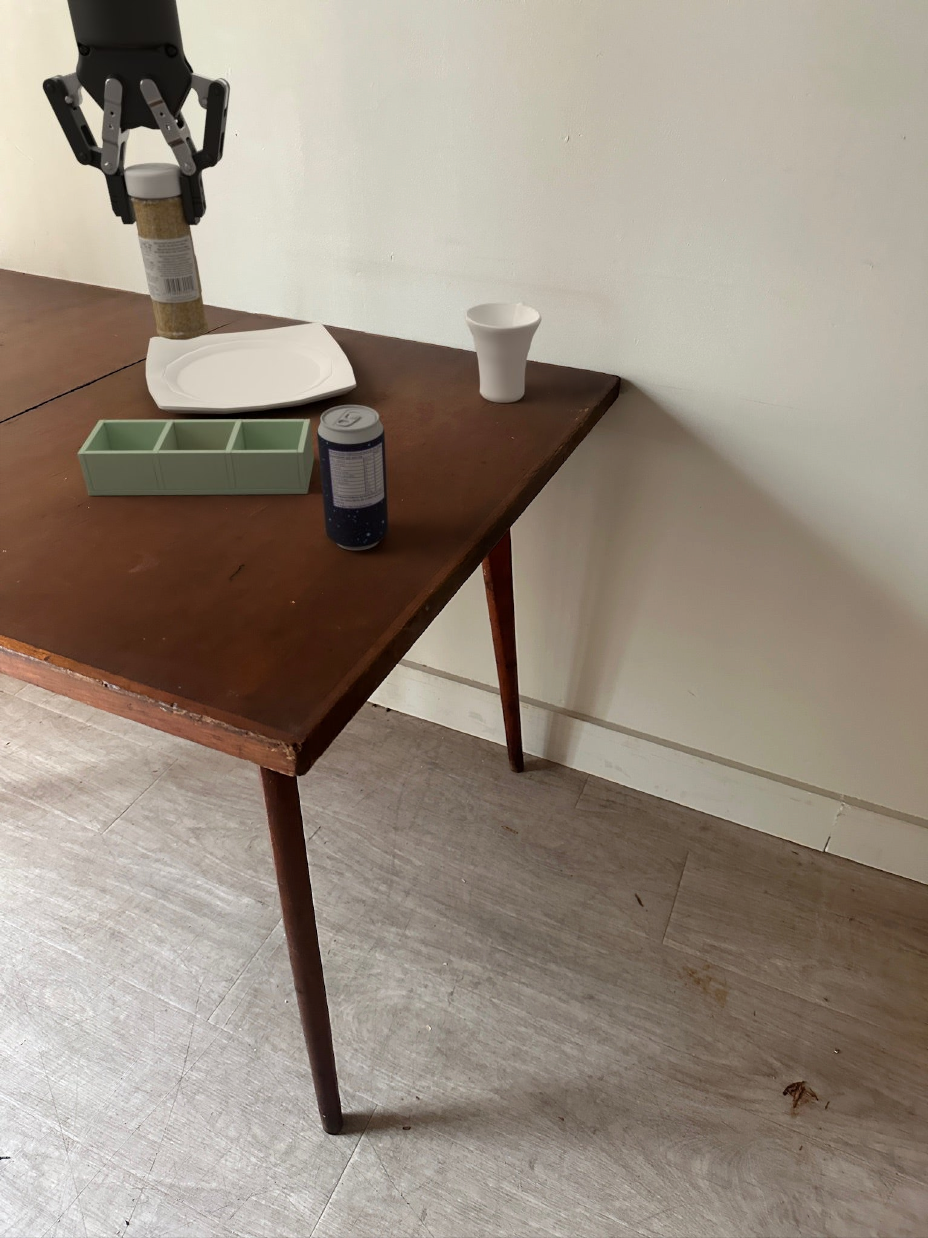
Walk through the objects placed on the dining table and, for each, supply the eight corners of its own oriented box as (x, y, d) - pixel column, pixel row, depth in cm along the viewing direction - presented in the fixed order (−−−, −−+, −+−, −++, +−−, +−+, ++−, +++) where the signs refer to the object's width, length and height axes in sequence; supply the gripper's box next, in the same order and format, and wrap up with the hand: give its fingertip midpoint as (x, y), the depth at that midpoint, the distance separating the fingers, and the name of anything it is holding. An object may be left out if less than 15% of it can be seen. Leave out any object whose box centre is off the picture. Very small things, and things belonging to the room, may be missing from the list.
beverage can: (399, 530, 81) (395, 410, 73) (369, 561, 77) (362, 436, 69) (347, 516, 83) (338, 397, 75) (314, 545, 79) (302, 422, 71)
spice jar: (209, 322, 80) (183, 160, 71) (208, 340, 76) (180, 171, 68) (157, 325, 79) (125, 161, 70) (154, 343, 75) (119, 172, 67)
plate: (328, 337, 120) (326, 318, 119) (369, 408, 102) (368, 387, 100) (144, 355, 114) (140, 334, 112) (153, 434, 96) (148, 411, 94)
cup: (550, 390, 108) (557, 309, 101) (509, 415, 102) (513, 330, 95) (492, 372, 112) (495, 293, 105) (448, 395, 106) (449, 313, 99)
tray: (89, 495, 85) (77, 453, 82) (109, 460, 91) (99, 419, 88) (307, 494, 86) (303, 452, 83) (314, 459, 92) (310, 418, 89)
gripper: (-8, -37, 58) (60, 233, 68) (208, -32, 59) (242, 235, 69) (31, -38, 64) (88, 211, 74) (226, -34, 65) (256, 212, 75)
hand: (162, 221), depth 72 cm, fingers closed on spice jar, 4 cm apart
